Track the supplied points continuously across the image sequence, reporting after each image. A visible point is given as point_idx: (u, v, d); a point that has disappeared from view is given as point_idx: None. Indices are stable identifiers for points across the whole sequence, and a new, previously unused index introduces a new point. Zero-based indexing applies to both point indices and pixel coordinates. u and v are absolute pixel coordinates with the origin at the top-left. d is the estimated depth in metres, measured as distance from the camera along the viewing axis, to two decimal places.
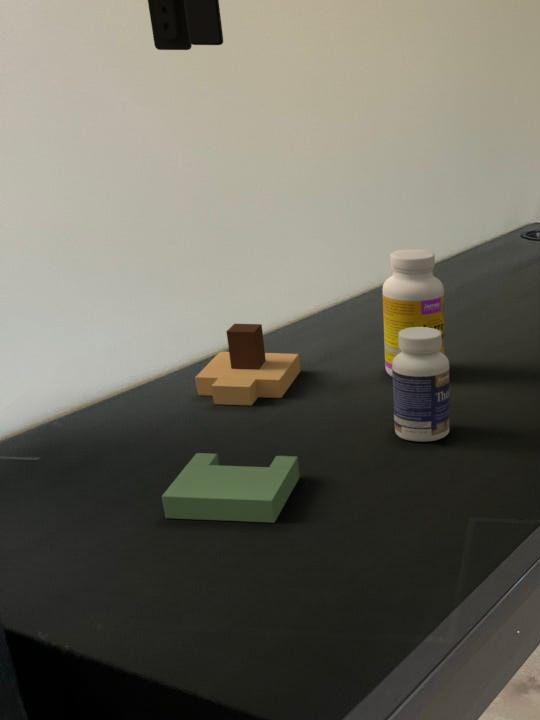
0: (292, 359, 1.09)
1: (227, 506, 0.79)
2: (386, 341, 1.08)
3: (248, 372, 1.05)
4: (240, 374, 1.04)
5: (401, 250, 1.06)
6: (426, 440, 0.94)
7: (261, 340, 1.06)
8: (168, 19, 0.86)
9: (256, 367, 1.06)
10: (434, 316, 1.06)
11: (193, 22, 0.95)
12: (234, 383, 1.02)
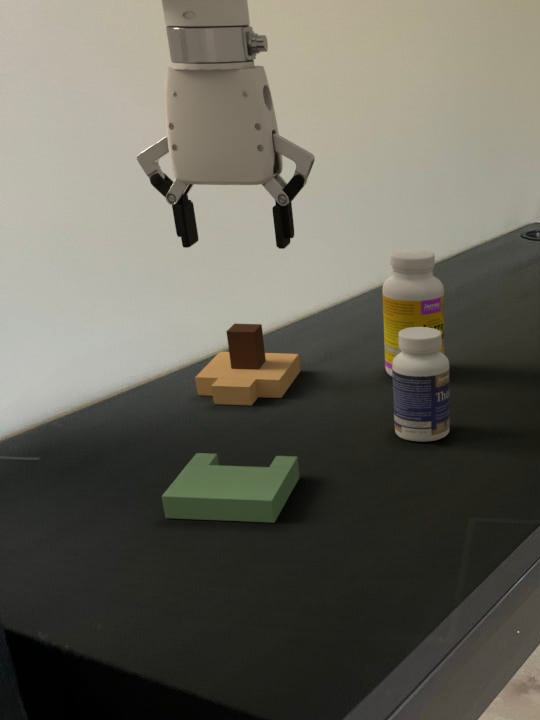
0: (292, 359, 1.09)
1: (227, 506, 0.79)
2: (386, 341, 1.08)
3: (248, 372, 1.05)
4: (240, 374, 1.04)
5: (401, 250, 1.06)
6: (426, 440, 0.94)
7: (261, 340, 1.06)
8: None
9: (256, 367, 1.06)
10: (434, 316, 1.06)
11: None
12: (234, 383, 1.02)
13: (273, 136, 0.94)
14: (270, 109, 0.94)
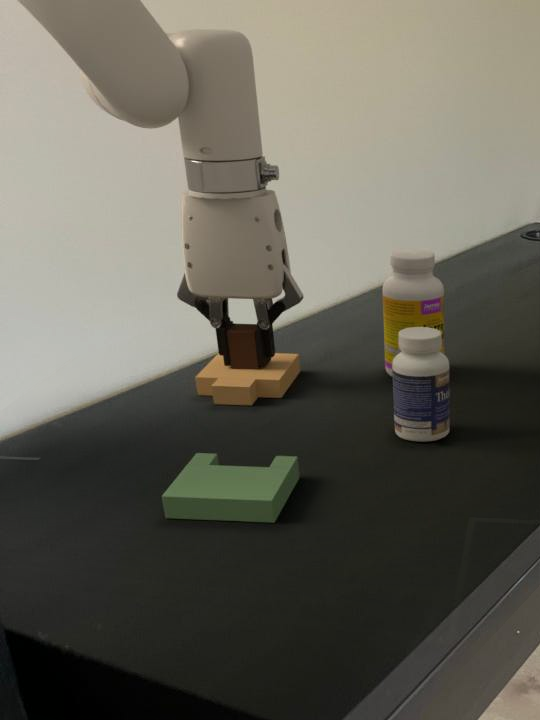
0: (292, 359, 1.09)
1: (227, 506, 0.79)
2: (386, 341, 1.08)
3: (248, 372, 1.05)
4: (240, 374, 1.04)
5: (401, 250, 1.06)
6: (426, 440, 0.94)
7: None
8: None
9: (256, 367, 1.06)
10: (434, 316, 1.06)
11: None
12: (234, 383, 1.02)
13: None
14: (280, 230, 1.00)
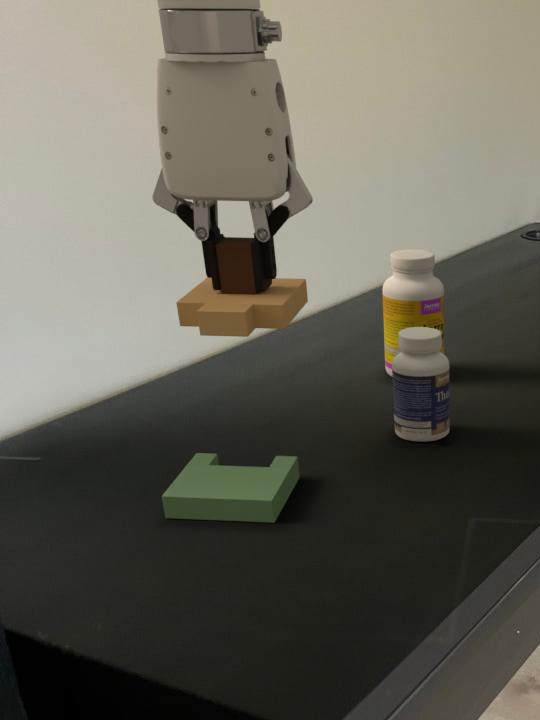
0: (298, 284, 0.87)
1: (227, 506, 0.79)
2: (386, 341, 1.08)
3: (243, 297, 0.83)
4: (233, 299, 0.83)
5: (401, 250, 1.06)
6: (426, 440, 0.94)
7: None
8: None
9: (253, 291, 0.84)
10: (434, 316, 1.06)
11: None
12: (226, 308, 0.80)
13: None
14: (283, 111, 0.78)
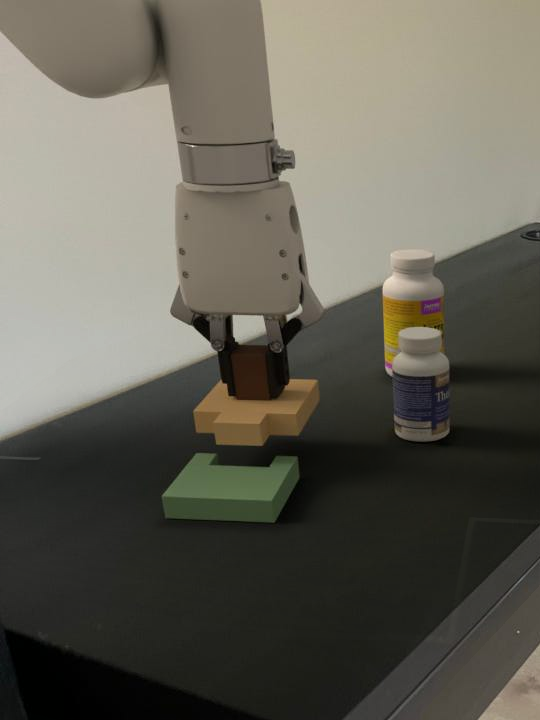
0: (310, 387, 0.90)
1: (227, 506, 0.79)
2: (386, 341, 1.08)
3: (257, 404, 0.86)
4: (247, 407, 0.85)
5: (401, 250, 1.06)
6: (426, 440, 0.94)
7: None
8: None
9: (267, 398, 0.87)
10: (434, 316, 1.06)
11: None
12: (241, 419, 0.83)
13: None
14: (297, 231, 0.81)
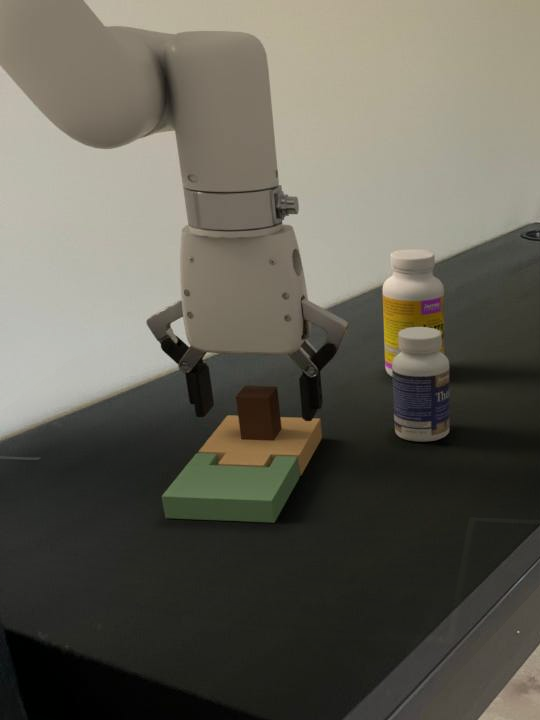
0: (313, 426, 0.92)
1: (227, 506, 0.79)
2: (386, 341, 1.08)
3: (261, 444, 0.88)
4: (251, 447, 0.88)
5: (401, 250, 1.06)
6: (426, 440, 0.94)
7: (277, 405, 0.89)
8: None
9: (271, 438, 0.89)
10: (434, 316, 1.06)
11: None
12: (245, 460, 0.85)
13: (302, 303, 0.83)
14: (299, 273, 0.82)
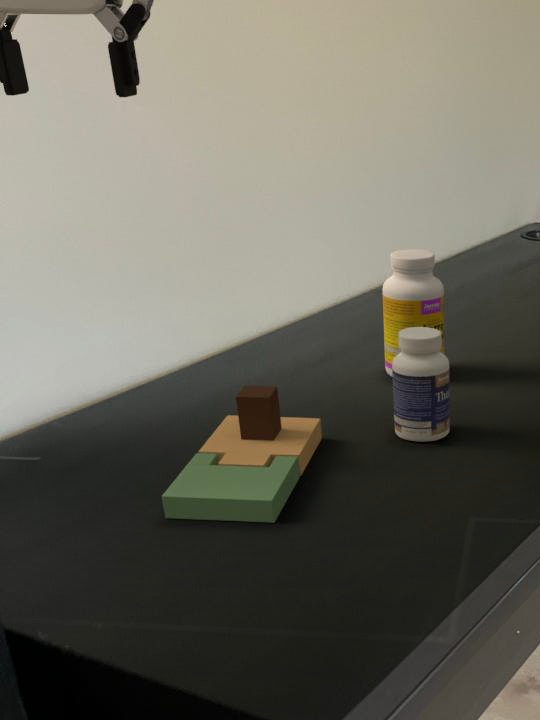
0: (313, 426, 0.92)
1: (227, 506, 0.79)
2: (386, 341, 1.08)
3: (261, 444, 0.88)
4: (251, 447, 0.88)
5: (401, 250, 1.06)
6: (426, 440, 0.94)
7: (277, 405, 0.89)
8: None
9: (271, 438, 0.89)
10: (434, 316, 1.06)
11: None
12: (245, 460, 0.85)
13: None
14: None
